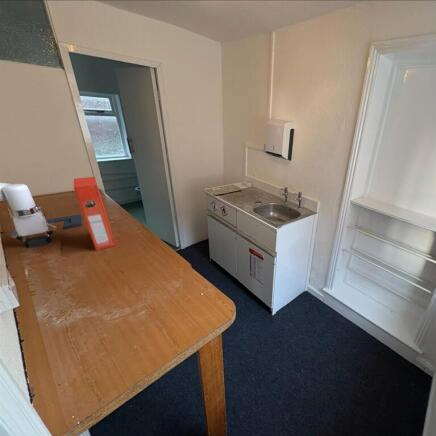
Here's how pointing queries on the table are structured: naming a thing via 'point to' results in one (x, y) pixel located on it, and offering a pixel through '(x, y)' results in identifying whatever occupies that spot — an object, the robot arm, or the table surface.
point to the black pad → (37, 241)
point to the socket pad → (68, 221)
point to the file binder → (94, 212)
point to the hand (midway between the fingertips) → (40, 245)
